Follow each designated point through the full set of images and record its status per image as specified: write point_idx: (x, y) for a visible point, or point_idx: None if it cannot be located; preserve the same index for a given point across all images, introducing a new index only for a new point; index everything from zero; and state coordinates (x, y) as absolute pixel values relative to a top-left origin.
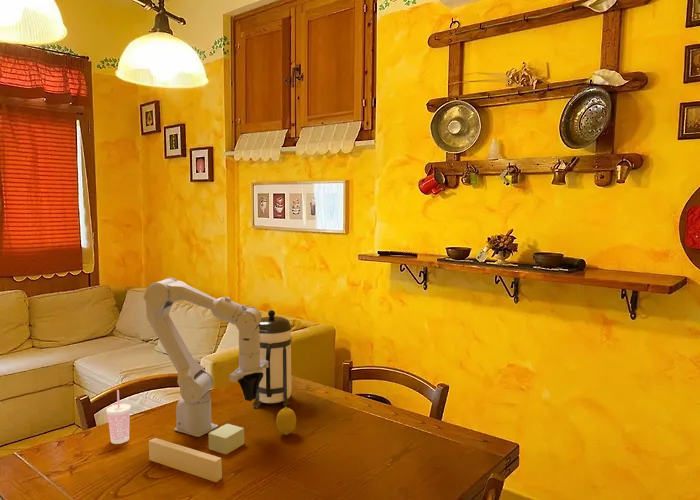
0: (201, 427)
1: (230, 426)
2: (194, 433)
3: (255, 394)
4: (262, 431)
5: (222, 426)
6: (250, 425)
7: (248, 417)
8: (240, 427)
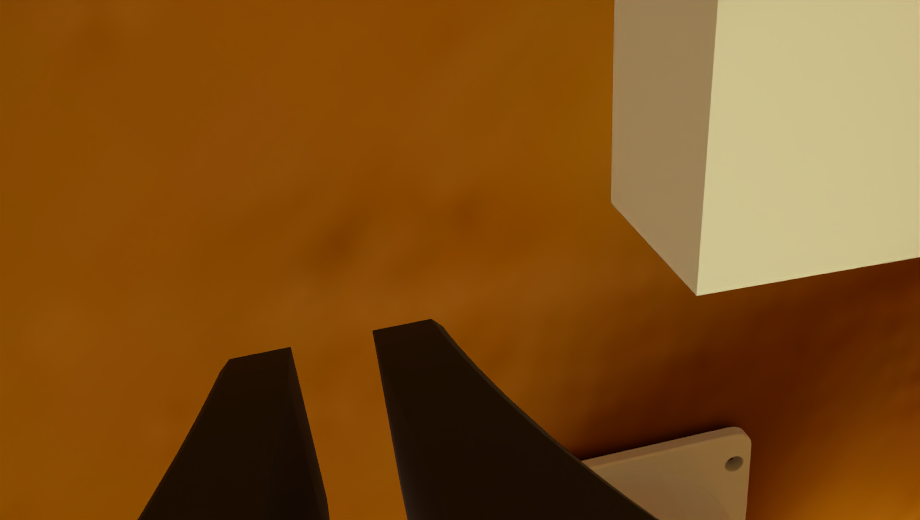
0: (701, 512)
1: (759, 180)
2: (728, 496)
3: (263, 409)
4: (183, 3)
5: (804, 264)
6: (177, 279)
7: (39, 470)
8: (723, 26)
